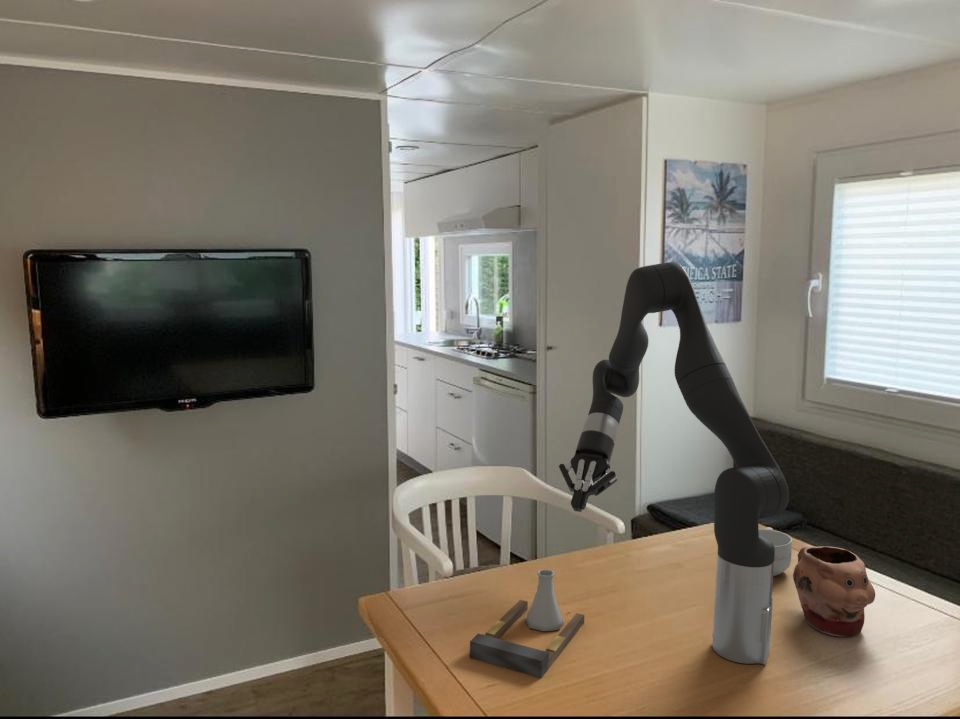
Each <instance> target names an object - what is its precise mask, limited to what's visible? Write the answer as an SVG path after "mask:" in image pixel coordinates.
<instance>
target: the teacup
mask: <svg viewBox="0 0 960 719" xmlns="http://www.w3.org/2000/svg"><path fill="white" fill-rule="evenodd" d="M758 529H759V535H760V536H762V537H765V538H766V539H768V540H770V541H771V542H772V543H773V545H774V547H775V557H774V571H773V577H775V576H778V575H781V574H782V573H784V572H785V571H786V570H788V569H789V567H790V565H791V563H792V553H793V552H792V550H793V549H792V546H793V545H792V544H793V538H792V536H790V535H789V534H787V533H784V532H783V531H779V530H773V528H772V527H769V526H768V527H765V528H758Z"/></svg>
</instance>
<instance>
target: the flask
mask: <svg viewBox="0 0 960 719" xmlns="http://www.w3.org/2000/svg"><path fill="white" fill-rule="evenodd" d="M536 572H537V573H536V575H537V576H538V582H537V588H536V593H535V594H534V598H533V601H532V603H531V605H530V608H529V610H528V612H527V615H526V618H525V623H526V625H527V626H528V628H529V629H531V630H532V629H533V630H537V631H542V632H550V631H552V632H553V631H559V630H560V629H562V626H564V623H565V622H564V618H563V616H562V613H561V611H560V608H559V605H558V602H557V601H558V600H557V598H556V594H555V589H554V584H553V582H554V579H553V578H554V576H555V572H554V571H553V570H551V569H546V568H545V569H542V568H541V569H538V570H537V571H536Z"/></svg>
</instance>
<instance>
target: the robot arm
mask: <svg viewBox="0 0 960 719" xmlns="http://www.w3.org/2000/svg"><path fill="white" fill-rule="evenodd" d="M670 310H671V311H672V313H673V314H674V317H675V319H676V321H677V324H678V329H679V342H678V347H677V350H676V351H677V353H676V355H675V362H674V378H675V380H676V383H677V386H678V388H679V392H680V393H681V395H682V397H683V400H684V402H685V404H686V406H687V408H688V409H689V411H690V412H691V413H692V414H693V415H694V417H696V419H697V420H698V421H699V422H701V424H702V425H703V426H705V427H706V428H707V429H708V430H709V431H710V432H711V433H713V434H714V435H715V437H716V438H718V440H720V441H721V443H722V444H723V446H725V447H726V449H727V451H728V452H729V455H730V456H731V458H732V460H733V462H734V464H735V466H734V467H730V468H726V469H725V470H723V471H722V472H721V473H720V474H719V475H718V477H717V479H716V482H715V485H714V496H713V521H714V522H713V532H714V538H715V541H716V544H717V555H716V556H717V558H716V572H715V573H716V575H715V576H716V577H715V590H714V591H715V592H714V593H715V594H714V609H713V625H712V626H713V628H712V649H713V651H714V652H716V654H717V655H719V656H720V657H722V658H724V659H726V660H728V661H731V662H734V663H735V662H736V663H740V664H745V665H746V664H748V665H749V664H750V665H751V664H760V665H761V664H762V665H766V664H767V661H768V657H769V653H770V649H771V646H770V645H771V634H772V633H771V631H772V618H773V605H774V604H773V601H774V598H773V582H774V576H773V571H774V557H775V547H774V545H773V543H772V542H771V541H770V540H768V539H766V538H765V537H762V536H760V535H759V529H760V528H759V522H760V520H762V519H766V518H767V519H768V518H770V517H774V516H778V515H781V514H782V513H783V512H784V511H785V510H786V509H787V507H788V505H789V501H790V490H789V486H788V483H787V480H786V478H785V476H784V474H783V472H782V470H781V468H780V466H779V465H778V463H777V461H776V460H775V458H774V456H773V455H772V453H771V451H770V450H769V448H768V446H767V445H766V443H765V441H764V440H763V438H762V436H761V435H760V433H759V432H758V430H757V428H756V425H755V424H754V421H753V420H752V418H751V415H750V414H749V412H748V409H747V408H746V406H745V404H744V402H743V399H742V397H741V396H740V394H739V391H738V389H737V387H736V385H735V382H734V379H733V377H732V375H731V373H730V371H729V369H728V367H727V364H726V363H725V361H724V358H723V357H722V355H721V353H720V351H719V349H718V347H717V344H716V342H715V341H714V338H713V336H712V333H711V332H710V330H709V326H708V325H707V322H706V319H705V317H704V315H703V311H702V309H701V306H700V303H699V301H698V297H697V295H696V290H695V289H694V286H693V284H692V281H691V279H690V276H689V274H688V272H687V271H686V269H685V268H684V267H683V265H681V264H680V263H678V262H675V261H669V262H661V263H657V264H656V263H655V264H651V265H650V264H649V265H644V266H640V267H637V268H635V269H634V270H633V271H632V272H631V273H630V275H629V278H628V280H627V283H626V287H625V291H624V298H623V303H622V310H621V315H620V323H619V328H618V331H617V334H616V336H615V339H614V340H613V344H612V346H611V349H610V352H609V353H608V354H609V355H608V359H601V360H600V361H598V362H597V363H596V365H595V366H594V368H593V371H592V400H591V404H590V407H589V411H588V414H587V417H586V420H585V422H584V424H583V426H582V430H581V433H580V436H579V439H578V442H577V446H576V449H575V453H574V456H573V457H572V458H571V459H570V461H569V462H568V463H566V464H564V463H560V464H559V465H558V468H559V470H560V472H561V475H562V477H563V479H564V481H565V483H566V485H567V487H568V489H569V491H570V492H572V498H571V499H570V500H571V501H570V505H571V508H572V509H573V511H574V512H578V513H579V512H580V513H582V511H584V510H585V509H586V508H587V503H588V501H589V497H590V496H593V495H594V496H595V497H596V496H599V495H600V494H601V493H603V492H604V491H606V490H607V489H608V488H609V487H611V486H612V485H613V484H615V483H617V482H618V478H617V474H616V472H615V471H614V470H611V465H610V462H611V458H612V455H613V452H614V448H615V444H616V443H617V437H618V434H619V432H618V431H619V426H620V423H621V418H622V416H623V412H624V411H623V410H624V403H623V402H622V400H621V399H620V398H618V397H622V398H629V397H631V396H633V395H634V394H635V393H636V392H637V391H638V388H639V385H640V366H641V363H642V362H643V359H644V357H645V355H646V353H647V350H648V347H649V336H648V335H649V334H648V331H647V330H646V327H645V326H644V324H643V323H642V322H643V320H644V318H645V317H646V316H647V315H648V314H656V313H660V312H667V311H670ZM617 396H618V397H617ZM572 469H573V472H574V475H575V483H574V482H573V480H572V478H571V477H570V475H571V474H572Z"/></svg>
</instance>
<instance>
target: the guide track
mask: <svg viewBox="0 0 960 719" xmlns="http://www.w3.org/2000/svg"><path fill="white" fill-rule="evenodd" d="M528 602H529V601H527V600H523V599H519V600H518V601H517V602H516V603H515V604H514V605H513V606H511V608H510V609H509V610H507V612H506V613H505V614H504V615H503V616H502V617H501V618H500V619H498V620H497V621H495V623H494V624H493V625H492V626H490V628H488V630H486V632H485V634H481V633H477V634H476V635H475V636H474V637H473V638H472V639H471V640H469V658H470V659H474V660H477V661H480V662H484V663H488V664H490V665H494V666H498V667H501V668H505V669H509V670H512V671H515V672H518V673H522V674H525V675H529V676H532V677H536V678H539V679H542V678H543V676H545V675H546V673H547V672H548V671H549V669H550V668H551V667H552V665H553V664H554V663H555V662H556V660H557V659H558V657H560V655H561V653H562V652H564V650H565V649H566V648H567V646H568V644H569V643H570V642H571V641H572V639H573V638H574V637H575V635H576V634H577V633H578V632H579V630H580V629H581V628H582V627H583V625H584V624H585V614H582V613H577V612H575V614H574V615H573V616H572V618H571V619H570V620H569V621H568V622H567V624H566V625H565V626H564V628H562V630H561V631H560V633H558V634H557V635H556V637H555V638H553V640H552V641H551V642H550V643H549V644H548V646H547V647H546V649H545V650H541V649H538V648H534V647H530V646H526V645H522V644H519V643H515V642H511V641H508V640H505V639H504V640H503V639H500V638H501V637H502V636H503V635H504V634H505V633H506V632H507V631H508V630H509V629H510V628H511V627H512V626H513V625H514V624H515V623H516V622H517V621H518V620H519V619H520V618H521V616H522V615H524V613H525V612H526V611H527V610H528V604H529V603H528Z"/></svg>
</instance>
